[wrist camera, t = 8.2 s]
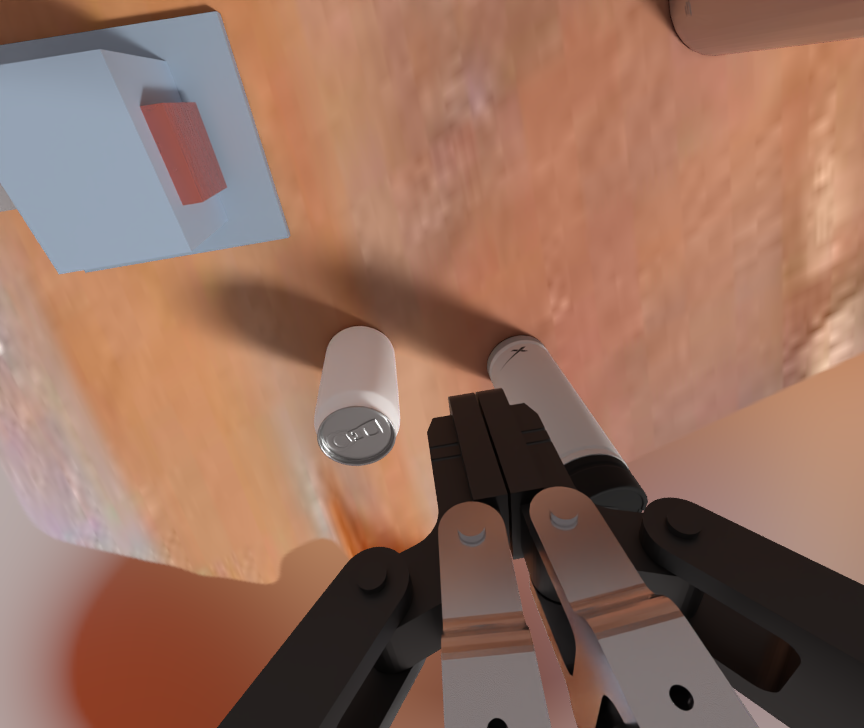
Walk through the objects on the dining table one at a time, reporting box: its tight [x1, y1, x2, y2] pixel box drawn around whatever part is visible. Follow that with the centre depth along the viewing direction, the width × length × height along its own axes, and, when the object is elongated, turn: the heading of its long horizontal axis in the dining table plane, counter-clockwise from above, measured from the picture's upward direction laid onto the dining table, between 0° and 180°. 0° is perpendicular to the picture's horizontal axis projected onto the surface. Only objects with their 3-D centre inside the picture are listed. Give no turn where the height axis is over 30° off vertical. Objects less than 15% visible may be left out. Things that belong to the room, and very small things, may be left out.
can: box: [314, 326, 400, 466], centre depth 36 cm, size 6×6×12 cm
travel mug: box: [487, 335, 648, 513], centre depth 35 cm, size 6×7×20 cm
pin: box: [0, 102, 227, 212], centre depth 26 cm, size 13×5×5 cm, turn 98°
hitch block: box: [0, 11, 290, 274], centre depth 27 cm, size 16×14×9 cm
